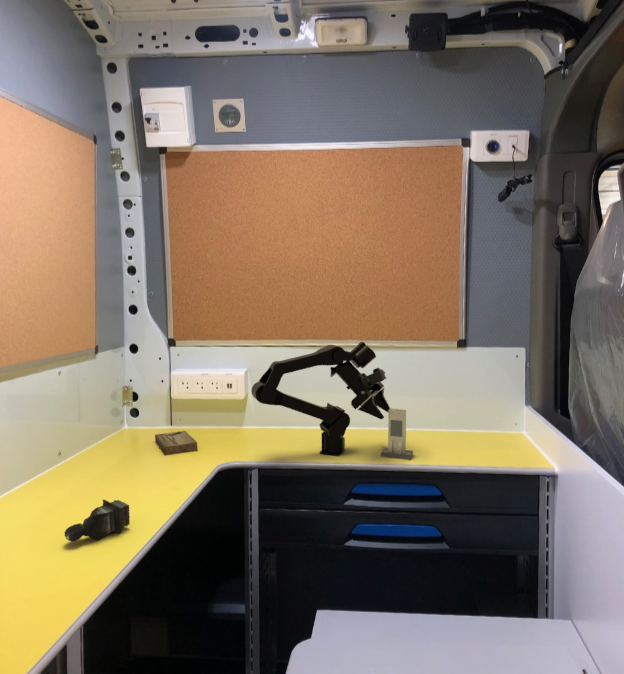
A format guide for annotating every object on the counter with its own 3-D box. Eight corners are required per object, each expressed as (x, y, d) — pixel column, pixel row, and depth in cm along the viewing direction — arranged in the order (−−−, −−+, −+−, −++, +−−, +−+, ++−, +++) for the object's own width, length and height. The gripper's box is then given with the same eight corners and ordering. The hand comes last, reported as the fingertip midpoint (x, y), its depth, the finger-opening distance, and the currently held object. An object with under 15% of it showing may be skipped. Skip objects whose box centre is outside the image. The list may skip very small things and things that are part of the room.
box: (164, 456, 169) (164, 447, 168) (154, 442, 184) (154, 433, 184) (198, 451, 173) (198, 442, 173) (186, 438, 189) (185, 429, 189)
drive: (388, 451, 167) (388, 410, 165) (389, 449, 169) (390, 408, 168) (404, 453, 165) (404, 411, 164) (405, 450, 167) (406, 409, 166)
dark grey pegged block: (380, 456, 166) (380, 440, 166) (384, 452, 171) (384, 436, 170) (409, 459, 163) (410, 443, 163) (412, 455, 168) (412, 439, 167)
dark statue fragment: (60, 545, 110) (58, 515, 110) (115, 522, 121) (114, 494, 120) (78, 553, 107) (76, 522, 106) (133, 529, 117) (132, 501, 117)
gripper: (361, 364, 159) (398, 404, 155) (377, 356, 176) (411, 392, 173) (336, 389, 162) (371, 428, 159) (354, 379, 179) (387, 414, 176)
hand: (386, 415), depth 167 cm, fingers open, 9 cm apart
